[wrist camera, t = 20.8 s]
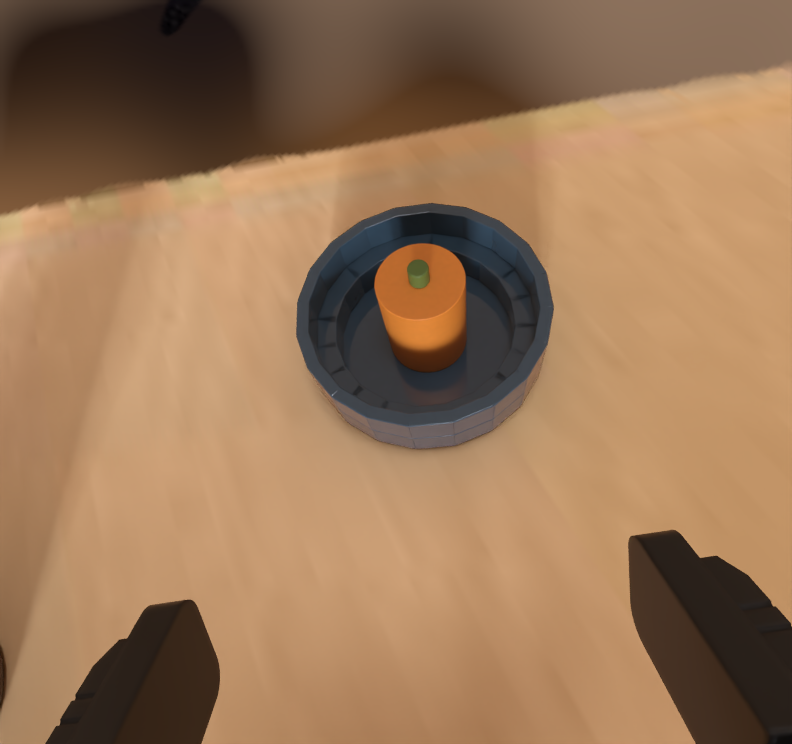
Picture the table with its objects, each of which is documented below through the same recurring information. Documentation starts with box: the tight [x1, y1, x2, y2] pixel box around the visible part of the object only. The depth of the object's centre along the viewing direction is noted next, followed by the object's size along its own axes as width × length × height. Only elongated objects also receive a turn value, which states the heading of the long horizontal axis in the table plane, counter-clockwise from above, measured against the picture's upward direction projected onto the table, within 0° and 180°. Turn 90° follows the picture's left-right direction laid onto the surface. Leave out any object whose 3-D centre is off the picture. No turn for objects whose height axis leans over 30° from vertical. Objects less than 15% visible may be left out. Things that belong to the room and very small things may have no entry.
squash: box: [374, 243, 467, 372], centre depth 33 cm, size 5×5×8 cm
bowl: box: [296, 203, 554, 449], centre depth 35 cm, size 16×16×5 cm
